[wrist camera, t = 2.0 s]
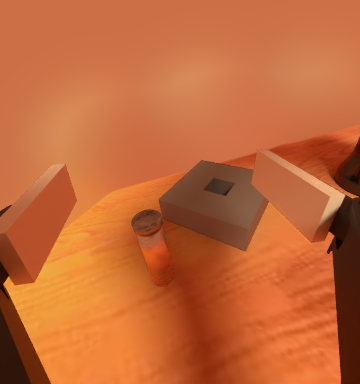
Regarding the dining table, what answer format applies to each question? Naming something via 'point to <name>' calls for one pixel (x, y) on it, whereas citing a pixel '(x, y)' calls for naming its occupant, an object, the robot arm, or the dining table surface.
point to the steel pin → (153, 246)
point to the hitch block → (216, 203)
